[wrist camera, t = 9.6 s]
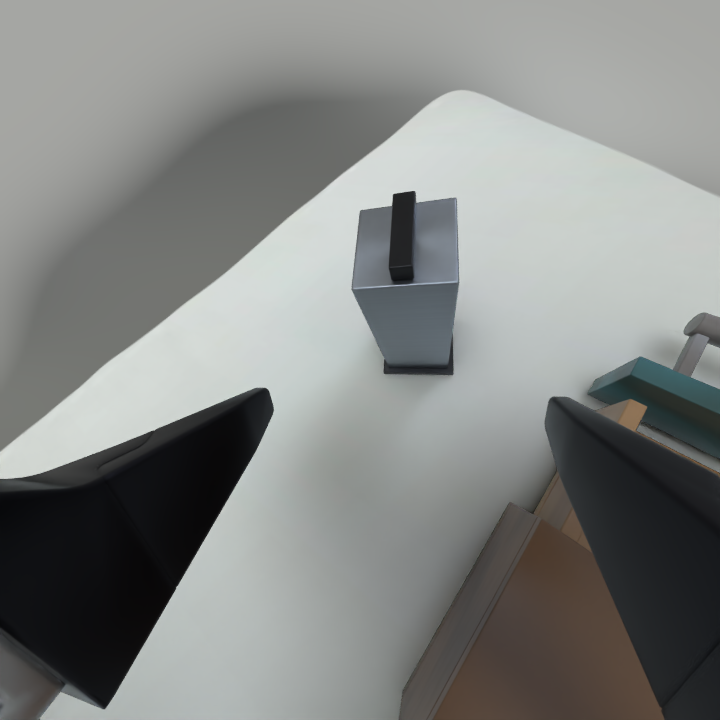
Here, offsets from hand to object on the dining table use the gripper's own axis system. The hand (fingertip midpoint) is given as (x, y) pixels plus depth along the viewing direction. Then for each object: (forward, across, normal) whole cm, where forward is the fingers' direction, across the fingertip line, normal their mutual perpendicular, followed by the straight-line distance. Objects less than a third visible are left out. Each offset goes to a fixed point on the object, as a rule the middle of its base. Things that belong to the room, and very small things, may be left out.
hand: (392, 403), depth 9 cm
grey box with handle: (+15, 0, +4) cm, 15 cm away
